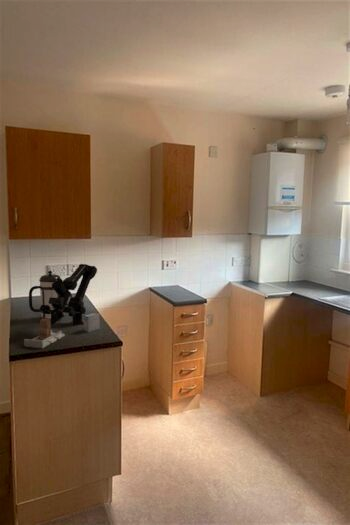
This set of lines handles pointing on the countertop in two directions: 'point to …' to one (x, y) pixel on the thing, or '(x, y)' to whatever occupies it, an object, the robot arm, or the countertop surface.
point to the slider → (45, 329)
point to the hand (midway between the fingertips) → (51, 324)
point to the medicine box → (91, 322)
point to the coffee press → (45, 292)
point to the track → (42, 343)
